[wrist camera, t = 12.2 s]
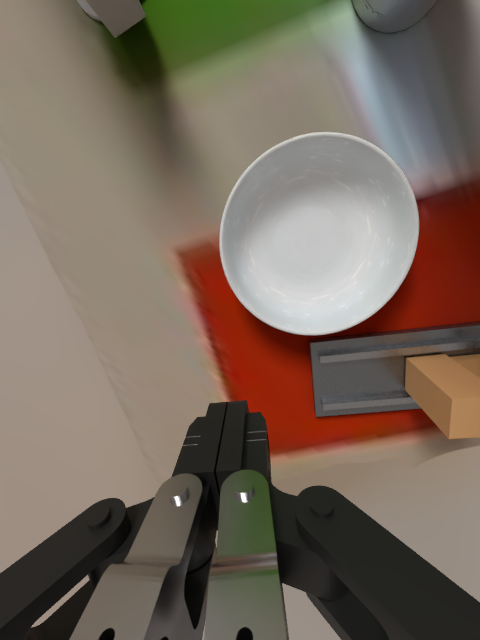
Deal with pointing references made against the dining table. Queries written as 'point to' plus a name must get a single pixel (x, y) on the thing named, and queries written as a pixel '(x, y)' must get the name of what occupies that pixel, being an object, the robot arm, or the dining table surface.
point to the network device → (114, 13)
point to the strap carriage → (447, 391)
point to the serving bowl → (319, 233)
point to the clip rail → (379, 366)
